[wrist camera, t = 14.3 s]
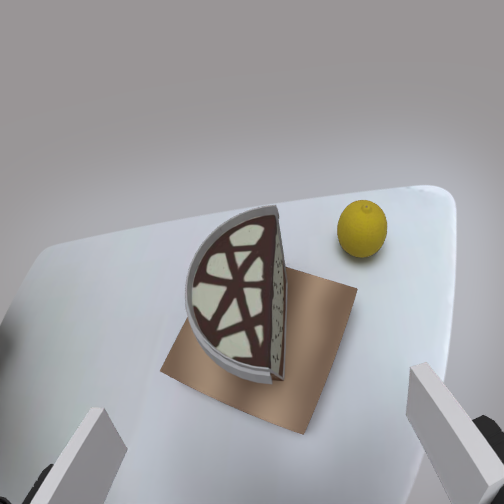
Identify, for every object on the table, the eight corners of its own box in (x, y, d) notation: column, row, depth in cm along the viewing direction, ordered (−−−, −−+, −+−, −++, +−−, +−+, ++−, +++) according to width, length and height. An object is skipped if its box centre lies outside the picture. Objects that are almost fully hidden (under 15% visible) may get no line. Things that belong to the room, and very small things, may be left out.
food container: (225, 269, 32) (193, 204, 24) (288, 268, 31) (276, 198, 23) (211, 394, 26) (162, 371, 17) (283, 398, 25) (268, 378, 16)
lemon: (361, 223, 39) (370, 179, 32) (388, 255, 36) (404, 214, 29) (326, 242, 38) (328, 199, 31) (352, 277, 35) (362, 238, 29)
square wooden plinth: (182, 381, 33) (159, 371, 27) (235, 274, 38) (224, 247, 33) (303, 433, 28) (303, 434, 23) (350, 311, 34) (357, 288, 29)
